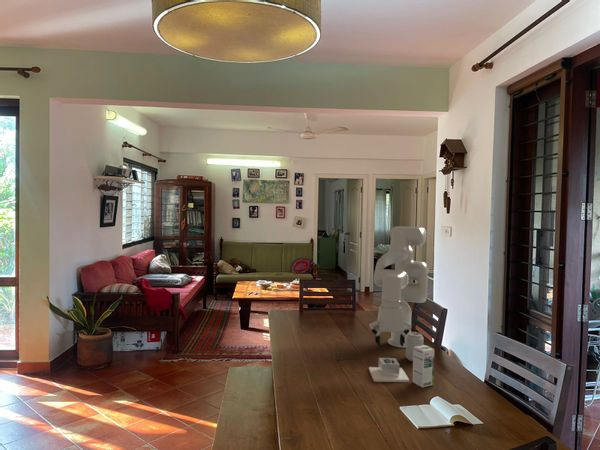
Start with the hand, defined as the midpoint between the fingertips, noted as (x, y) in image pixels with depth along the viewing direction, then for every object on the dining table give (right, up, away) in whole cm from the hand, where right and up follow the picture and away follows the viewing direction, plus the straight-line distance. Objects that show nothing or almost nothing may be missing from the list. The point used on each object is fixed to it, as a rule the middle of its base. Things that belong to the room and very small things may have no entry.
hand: (389, 344), depth 170 cm
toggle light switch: (-1, -13, 0) cm, 13 cm away
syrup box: (+11, -14, -7) cm, 19 cm away
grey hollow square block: (-1, -12, 0) cm, 12 cm away
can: (+15, -12, +19) cm, 27 cm away
